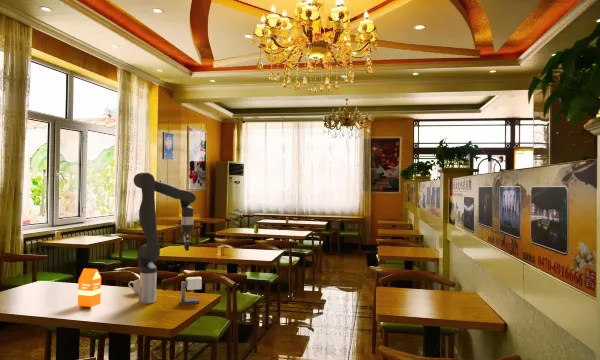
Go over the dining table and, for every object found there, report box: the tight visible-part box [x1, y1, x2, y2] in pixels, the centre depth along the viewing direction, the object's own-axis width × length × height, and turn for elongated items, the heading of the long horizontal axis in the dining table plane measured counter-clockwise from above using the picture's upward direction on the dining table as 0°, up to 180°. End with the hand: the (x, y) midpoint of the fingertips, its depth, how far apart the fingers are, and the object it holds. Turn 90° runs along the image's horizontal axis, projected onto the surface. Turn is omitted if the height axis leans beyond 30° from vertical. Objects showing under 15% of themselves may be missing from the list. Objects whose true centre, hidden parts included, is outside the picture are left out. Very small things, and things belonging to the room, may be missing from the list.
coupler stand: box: [180, 280, 200, 305], centre depth 249 cm, size 12×8×12 cm
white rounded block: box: [185, 276, 203, 291], centre depth 249 cm, size 9×6×6 cm
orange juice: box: [77, 268, 102, 308], centre depth 239 cm, size 8×9×20 cm
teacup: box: [127, 278, 140, 295], centre depth 266 cm, size 14×11×8 cm
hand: (186, 249), depth 266 cm, fingers open, 8 cm apart
